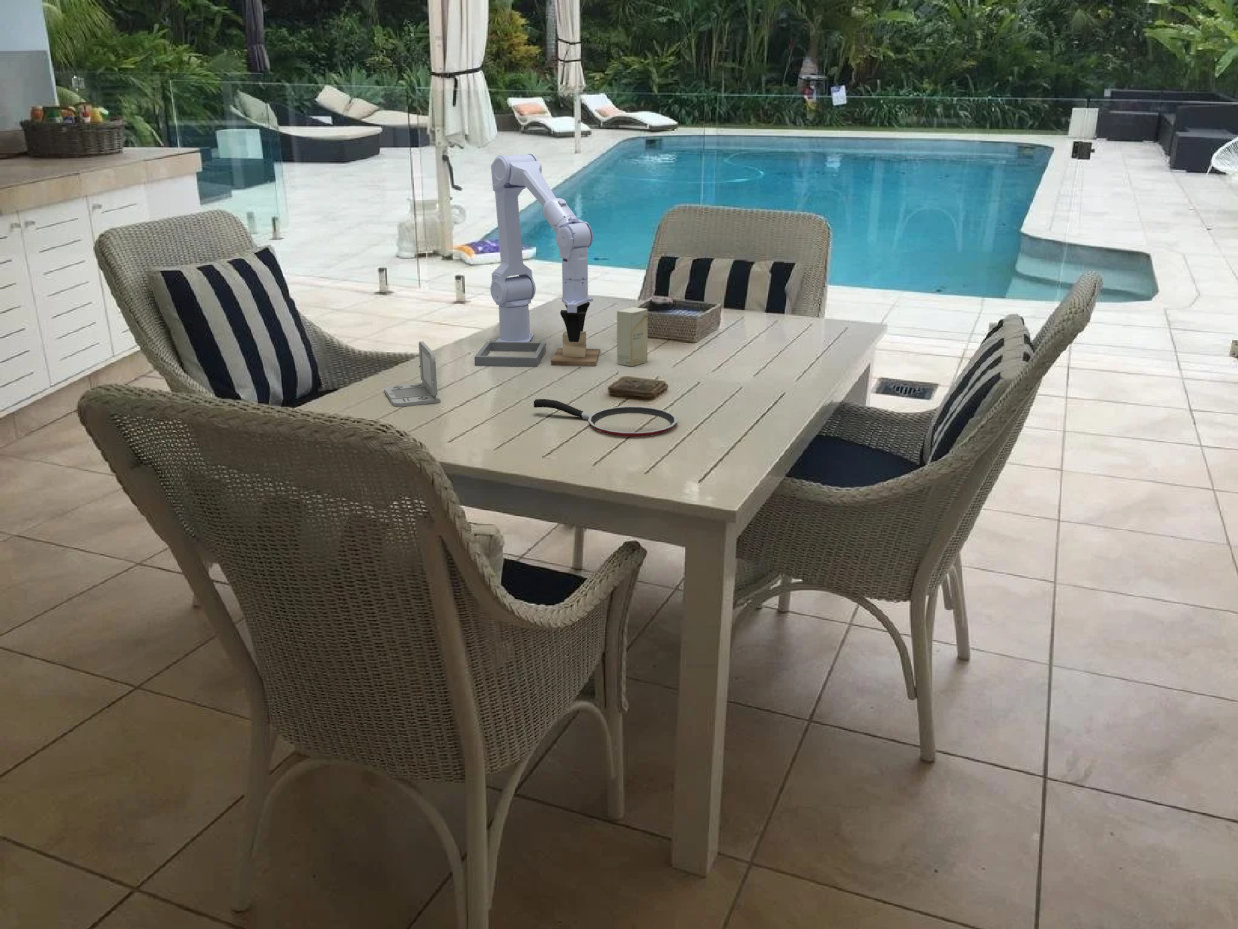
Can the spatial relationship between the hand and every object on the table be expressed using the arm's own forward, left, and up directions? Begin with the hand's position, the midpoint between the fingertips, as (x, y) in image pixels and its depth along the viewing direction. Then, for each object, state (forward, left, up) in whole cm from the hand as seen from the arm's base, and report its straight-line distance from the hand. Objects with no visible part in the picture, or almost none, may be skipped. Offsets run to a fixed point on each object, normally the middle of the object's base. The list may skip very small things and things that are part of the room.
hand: (575, 337), depth 240 cm
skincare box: (+3, +13, -5) cm, 14 cm away
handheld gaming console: (+33, -30, -5) cm, 45 cm away
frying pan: (+46, +10, -6) cm, 48 cm away
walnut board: (0, 0, -5) cm, 5 cm away
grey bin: (0, -15, -5) cm, 16 cm away
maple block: (0, 0, -4) cm, 4 cm away
